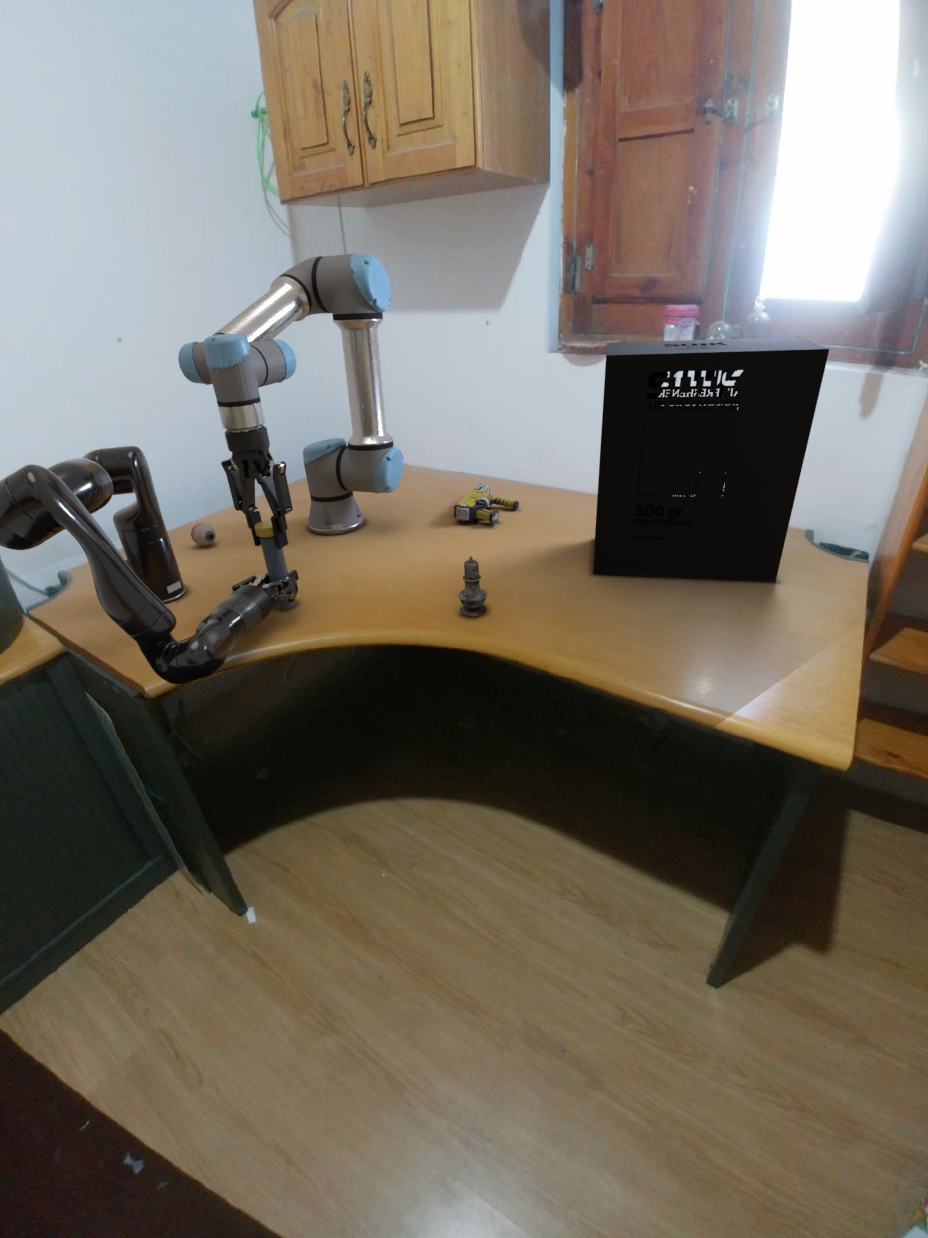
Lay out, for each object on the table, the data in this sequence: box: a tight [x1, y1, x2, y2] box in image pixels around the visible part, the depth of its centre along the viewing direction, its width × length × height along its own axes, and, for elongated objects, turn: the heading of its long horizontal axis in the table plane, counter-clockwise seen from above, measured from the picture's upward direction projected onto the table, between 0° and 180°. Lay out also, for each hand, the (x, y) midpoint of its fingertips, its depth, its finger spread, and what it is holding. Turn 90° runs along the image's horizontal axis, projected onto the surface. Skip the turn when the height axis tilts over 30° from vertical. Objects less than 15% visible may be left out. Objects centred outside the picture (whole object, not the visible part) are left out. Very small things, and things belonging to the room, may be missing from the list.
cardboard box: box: [592, 336, 830, 583], centre depth 128 cm, size 38×20×45 cm, turn 78°
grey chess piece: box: [457, 555, 488, 617], centre depth 120 cm, size 6×6×12 cm
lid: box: [255, 519, 274, 537], centre depth 121 cm, size 5×5×2 cm
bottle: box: [259, 536, 296, 611], centre depth 125 cm, size 4×4×18 cm
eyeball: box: [190, 522, 217, 547], centre depth 160 cm, size 6×6×6 cm
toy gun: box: [452, 482, 520, 526], centre depth 172 cm, size 5×24×15 cm
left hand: (285, 573), depth 128 cm, fingers closed on bottle, 4 cm apart
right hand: (271, 544), depth 122 cm, fingers closed on lid, 5 cm apart
